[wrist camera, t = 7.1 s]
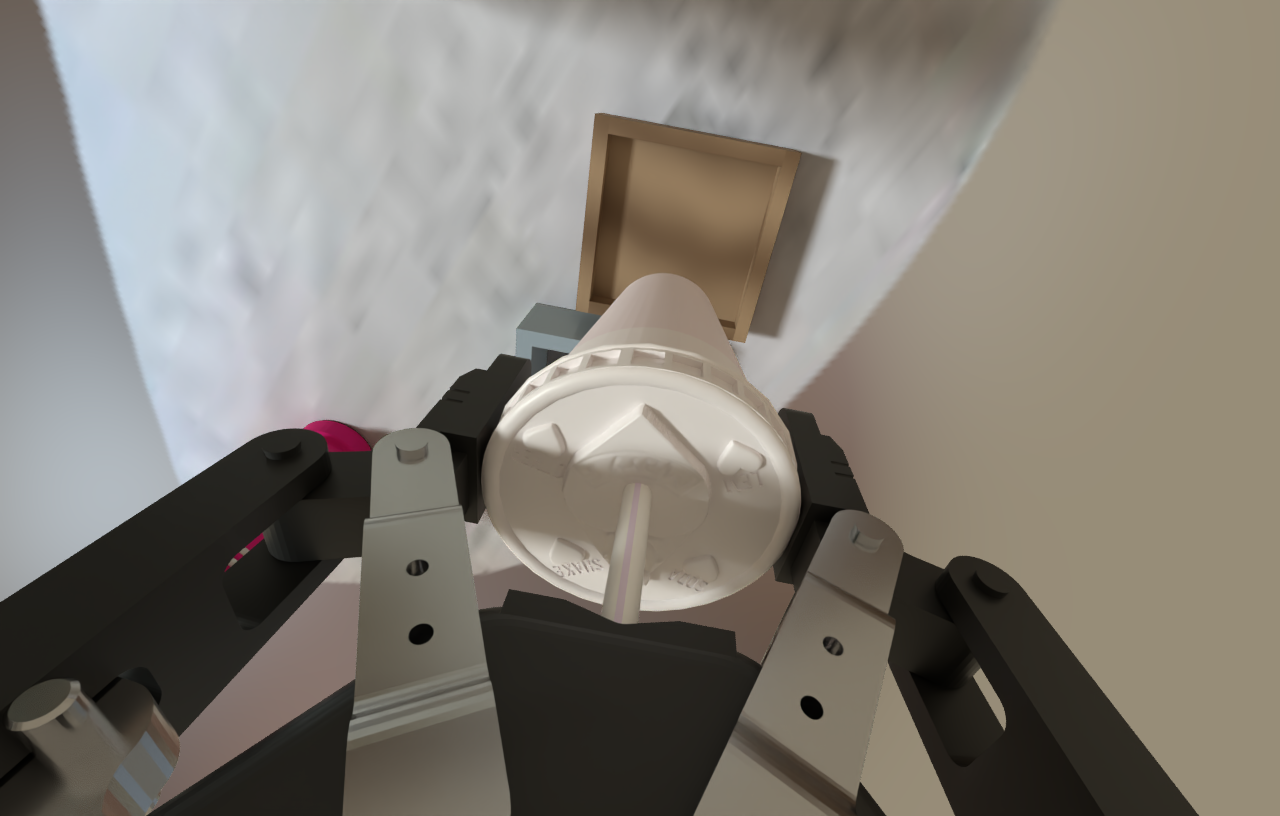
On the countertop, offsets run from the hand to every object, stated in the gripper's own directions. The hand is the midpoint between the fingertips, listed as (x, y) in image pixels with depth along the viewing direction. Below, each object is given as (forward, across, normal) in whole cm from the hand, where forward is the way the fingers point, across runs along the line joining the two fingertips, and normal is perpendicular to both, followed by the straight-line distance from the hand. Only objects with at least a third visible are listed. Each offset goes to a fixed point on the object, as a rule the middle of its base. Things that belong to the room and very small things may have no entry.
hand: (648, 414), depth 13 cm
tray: (+21, 0, 0) cm, 21 cm away
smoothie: (+6, 0, 0) cm, 6 cm away
